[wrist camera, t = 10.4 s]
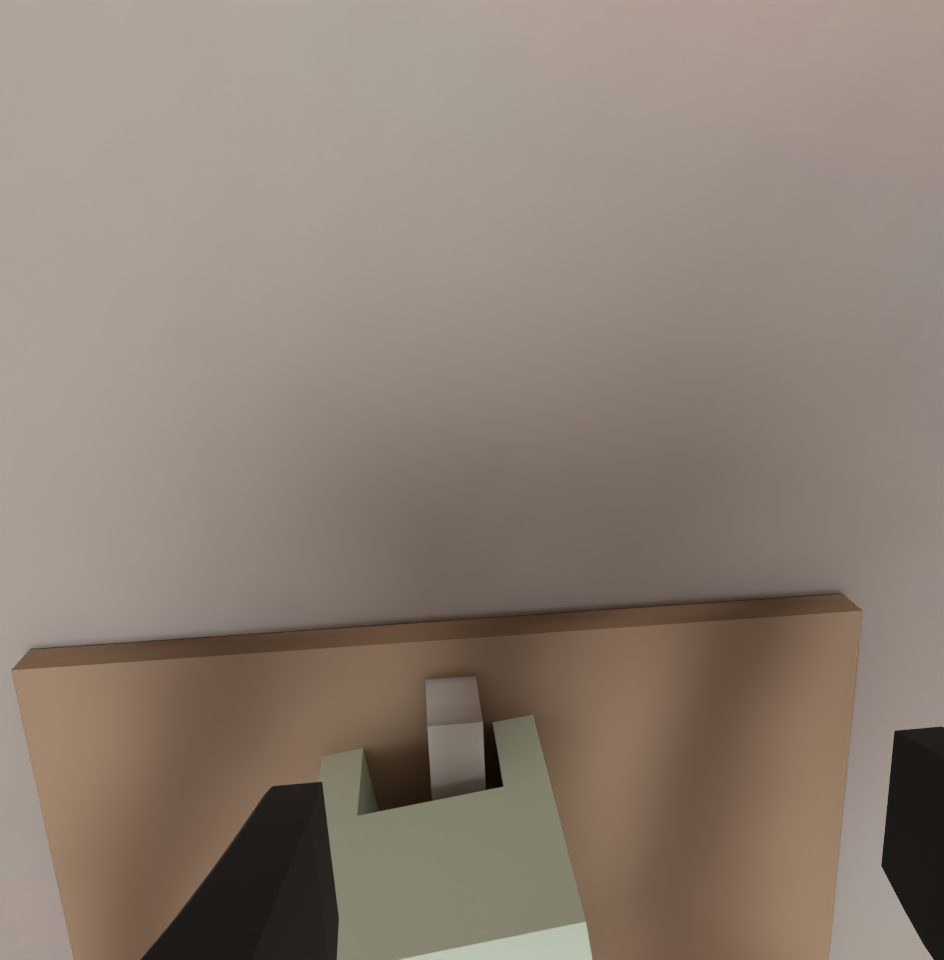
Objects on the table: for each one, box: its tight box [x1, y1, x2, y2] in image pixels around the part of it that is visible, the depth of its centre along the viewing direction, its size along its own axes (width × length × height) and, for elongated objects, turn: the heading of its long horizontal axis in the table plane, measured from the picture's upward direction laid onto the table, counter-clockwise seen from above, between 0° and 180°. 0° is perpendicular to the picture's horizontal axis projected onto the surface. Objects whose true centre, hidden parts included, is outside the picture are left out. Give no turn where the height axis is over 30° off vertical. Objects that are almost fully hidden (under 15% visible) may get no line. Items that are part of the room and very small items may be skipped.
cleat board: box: [11, 594, 862, 960], centre depth 22 cm, size 20×14×3 cm
